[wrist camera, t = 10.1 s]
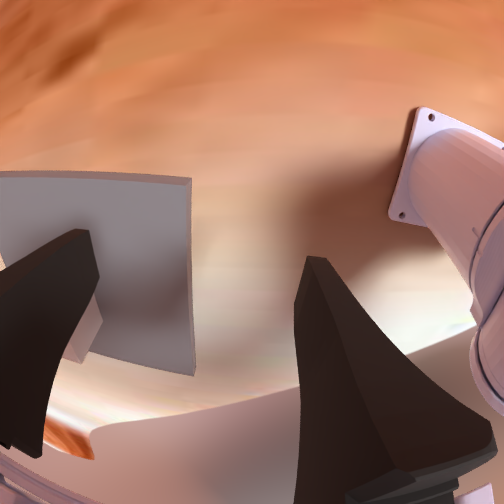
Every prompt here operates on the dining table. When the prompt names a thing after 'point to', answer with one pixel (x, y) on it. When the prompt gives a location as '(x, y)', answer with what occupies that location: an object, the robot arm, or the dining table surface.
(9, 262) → the lid
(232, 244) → the dining table surface
